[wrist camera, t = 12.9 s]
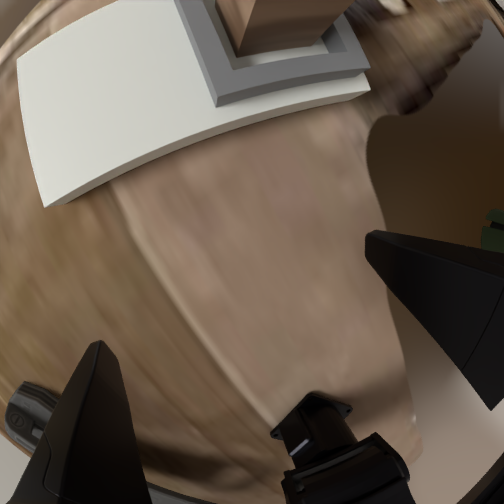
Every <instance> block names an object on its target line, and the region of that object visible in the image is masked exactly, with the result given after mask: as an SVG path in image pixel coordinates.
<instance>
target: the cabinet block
mask: <svg viewBox="0 0 504 504" xmlns="http://www.w3.org/2000/svg"><path fill="white" fill-rule="evenodd" d="M354 1H355V0H215V9H216V11H217V13H218V16H219V18H220V20H221V23H222V25H223V27H224V30H225V32H226V34H227V37H228V39H229V41H230V44H231V46H232V49H233V51H234V54H235V56H236V58H239V57H244V56H249V55H254V54H259V53H265V52H271V51H277V50H284V49H291V48H299V47H309V46H312V45H313V44H314V43H315V42H316V41H317V40H318V39H319V37H320V36H321V35H322V34H323V33H324V32H325V31H326V30H327V29H328V28H329V27H330V26H331V24H332V23H333V22H334V21H335V20H336V19H337V18H338V17H339V16H340V15H341V14H342V13H343V12H344V11H345V10H346V9H347V8H348V7H349V6H350V5H351V4H352V3H353V2H354Z"/></svg>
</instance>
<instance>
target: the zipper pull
mask: <svg viewBox="0 0 504 504" xmlns="http://www.w3.org/2000/svg"><path fill="white" fill-rule="evenodd" d="M58 401H59V399H58V398H56V397H55V396H54V395H52V394H51V393H50V392H48V391H47V390H46V389H44V388H41V387H38V386H36V385H33V384H30V383H28V382H25V381H24V382H23V383H22V384H21V385H20V386H19V387H18V389H17V390H16V391H15V393H14V394H13V395H12V397H11V398H10V400H9V403H8V406H7V409H6V412H5V429H6V431H7V433H8V435H9V436H10V437H11V438H12V439H13V440H15V441H16V442H17V443H19V444H20V445H22V446H23V447H25V448H26V449H27V450H29V451H31V452H32V453H34V451H35V449H36V446H37V444H38V442H39V440H40V438H41V436H42V433H43V432H44V429H45V427H46V425H47V423H48V421H49V419H50V417H51V415H52V412H53V410H54V408H55V406H56V405H57V403H58ZM146 483H147V486H148V490H149V493H150V496H151V499H152V503H153V504H216V503H212V502H208V501H204V500H201V499H197V498H194V497H190V496H186V495H183V494H180V493H177V492H174V491H171V490H168V489H165V488H163V487H160V486H157V485H155V484H152V483H150V482H147V481H146Z"/></svg>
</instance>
